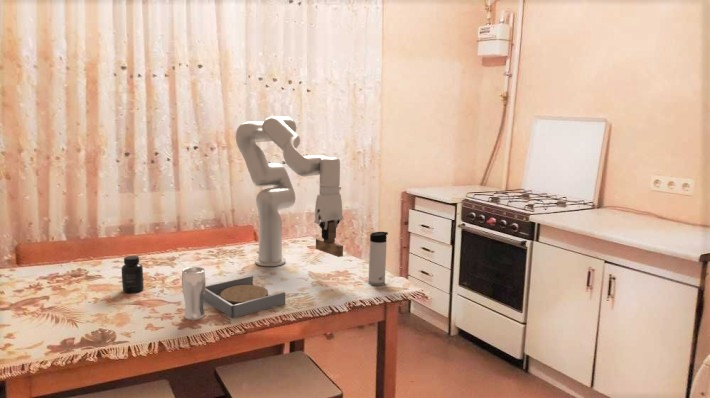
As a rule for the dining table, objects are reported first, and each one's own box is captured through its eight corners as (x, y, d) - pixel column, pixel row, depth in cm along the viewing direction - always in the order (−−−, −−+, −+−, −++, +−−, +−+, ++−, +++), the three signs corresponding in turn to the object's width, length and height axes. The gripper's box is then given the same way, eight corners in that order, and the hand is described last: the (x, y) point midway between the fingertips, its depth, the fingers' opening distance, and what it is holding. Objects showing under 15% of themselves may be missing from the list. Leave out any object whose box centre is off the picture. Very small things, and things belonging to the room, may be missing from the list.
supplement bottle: (148, 288, 183) (146, 256, 181) (134, 294, 176) (132, 261, 174) (132, 285, 185) (130, 253, 183) (118, 292, 179) (116, 258, 176)
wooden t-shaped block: (314, 249, 200) (315, 219, 198) (320, 247, 202) (321, 218, 200) (337, 257, 190) (338, 225, 188) (343, 255, 192) (344, 224, 190)
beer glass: (185, 311, 164) (184, 266, 161) (208, 311, 164) (207, 266, 162) (180, 320, 157) (178, 273, 154) (203, 320, 157) (202, 273, 155)
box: (201, 298, 175) (200, 286, 175) (251, 285, 188) (251, 275, 188) (232, 318, 160) (232, 306, 159) (285, 303, 173) (285, 292, 172)
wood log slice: (275, 304, 172) (275, 296, 172) (229, 314, 164) (229, 305, 163) (257, 290, 185) (257, 282, 185) (213, 297, 177) (213, 289, 176)
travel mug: (384, 286, 192) (386, 234, 188) (367, 285, 193) (368, 233, 189) (386, 281, 198) (388, 230, 194) (369, 279, 199) (371, 229, 195)
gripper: (339, 187, 200) (338, 233, 203) (305, 191, 189) (305, 239, 193) (352, 189, 195) (351, 237, 198) (318, 193, 184) (317, 243, 187)
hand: (328, 237), depth 195 cm, fingers closed on wooden t-shaped block, 3 cm apart
